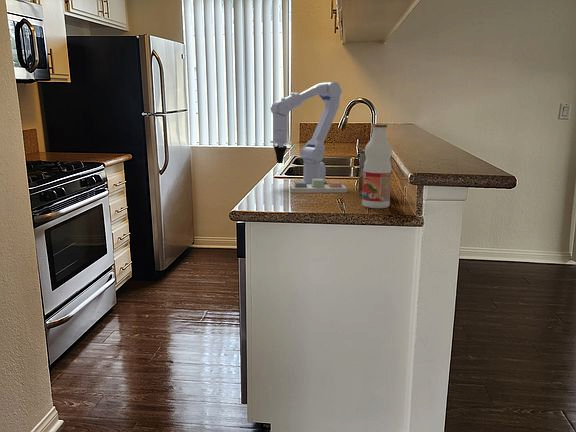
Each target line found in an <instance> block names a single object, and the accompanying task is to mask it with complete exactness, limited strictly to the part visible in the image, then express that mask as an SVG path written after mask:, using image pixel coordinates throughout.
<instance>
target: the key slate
mask: <svg viewBox="0 0 576 432" xmlns="http://www.w3.org/2000/svg"><path fill="white" fill-rule="evenodd" d="M294 184H295V188H307V184H308V183H306V182H299V181H294Z"/></svg>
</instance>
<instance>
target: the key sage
mask: <svg viewBox="0 0 576 432" xmlns="http://www.w3.org/2000/svg"><path fill="white" fill-rule="evenodd" d="M324 184H325V182H324V179H312V185H313V186H324Z"/></svg>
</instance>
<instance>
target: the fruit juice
mask: <svg viewBox="0 0 576 432" xmlns="http://www.w3.org/2000/svg"><path fill="white" fill-rule="evenodd" d="M371 126H372V127H371V128H372V134H371V138H370V140H369V141H368V142H367V144H366V145H365V147H364V152H365V156H366V160H365V162H364V169H363V192H362V195H361V196H362V197H361V203H362V206H363V207H365V208H369V209H385V208H389V207H390V204H391V183H392V171H393V170H392V161H391V157H392V154H393V148H392V147H393V146H391V143H390V142H389V140H388V137H387V129H388V124H387V123H372V125H371Z"/></svg>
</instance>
